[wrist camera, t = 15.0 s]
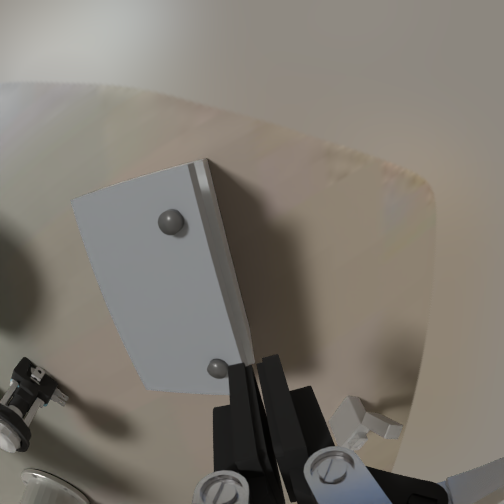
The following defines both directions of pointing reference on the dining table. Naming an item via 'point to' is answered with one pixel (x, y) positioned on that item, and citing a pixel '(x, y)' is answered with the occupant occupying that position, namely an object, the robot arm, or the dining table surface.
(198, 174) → the open box
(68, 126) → the dining table surface
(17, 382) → the push button
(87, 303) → the dining table surface
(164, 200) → the cover
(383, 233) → the dining table surface
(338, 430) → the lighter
